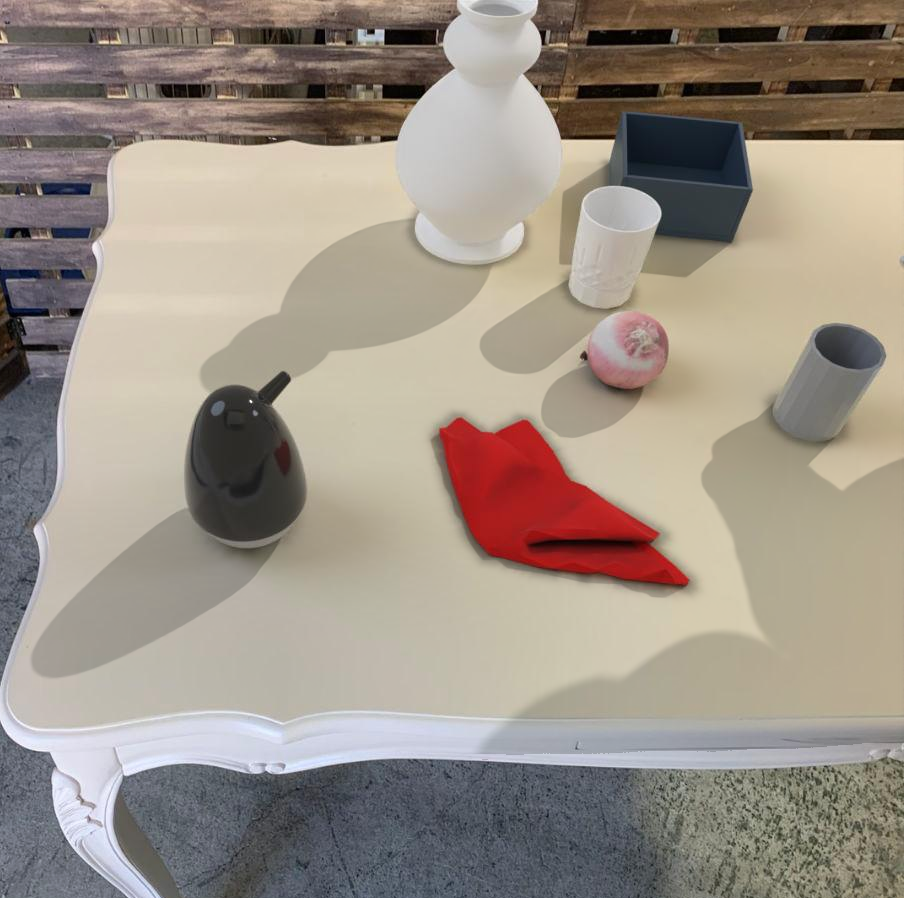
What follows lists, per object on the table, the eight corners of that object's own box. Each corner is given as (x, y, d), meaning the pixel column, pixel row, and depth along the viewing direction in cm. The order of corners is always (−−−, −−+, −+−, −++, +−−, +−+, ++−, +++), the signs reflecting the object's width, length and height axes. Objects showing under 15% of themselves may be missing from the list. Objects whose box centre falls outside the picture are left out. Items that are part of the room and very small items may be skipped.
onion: (595, 407, 87) (612, 351, 82) (567, 354, 92) (581, 297, 86) (671, 394, 89) (693, 338, 83) (639, 342, 93) (659, 286, 87)
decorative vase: (534, 185, 109) (575, -43, 89) (557, 279, 99) (611, 44, 79) (388, 187, 109) (397, -43, 89) (396, 281, 98) (408, 45, 78)
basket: (723, 174, 111) (742, 122, 106) (731, 243, 103) (753, 189, 98) (608, 163, 112) (622, 110, 107) (608, 230, 104) (622, 176, 99)
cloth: (390, 455, 83) (390, 439, 82) (501, 394, 88) (504, 377, 86) (586, 657, 71) (593, 643, 69) (704, 573, 76) (712, 558, 74)
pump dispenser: (334, 522, 79) (331, 398, 66) (239, 587, 75) (217, 468, 62) (263, 456, 83) (247, 328, 71) (169, 514, 79) (136, 389, 67)
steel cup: (835, 398, 88) (879, 327, 81) (845, 446, 85) (891, 376, 78) (769, 390, 89) (806, 319, 82) (776, 437, 85) (815, 367, 78)
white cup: (592, 257, 101) (613, 176, 93) (650, 290, 98) (677, 209, 90) (548, 288, 98) (566, 207, 90) (607, 323, 95) (630, 242, 87)
